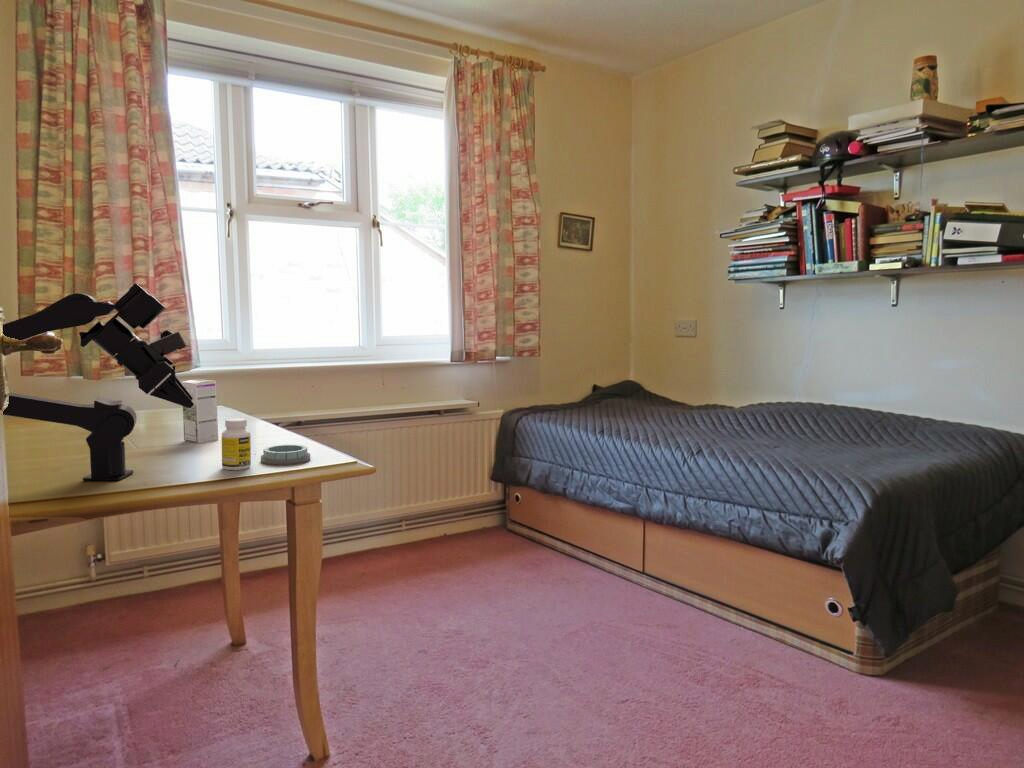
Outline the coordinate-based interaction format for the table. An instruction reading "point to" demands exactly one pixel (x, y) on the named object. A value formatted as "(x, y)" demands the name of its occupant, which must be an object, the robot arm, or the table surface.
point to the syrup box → (201, 412)
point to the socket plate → (285, 455)
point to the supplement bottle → (236, 445)
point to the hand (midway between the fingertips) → (191, 403)
